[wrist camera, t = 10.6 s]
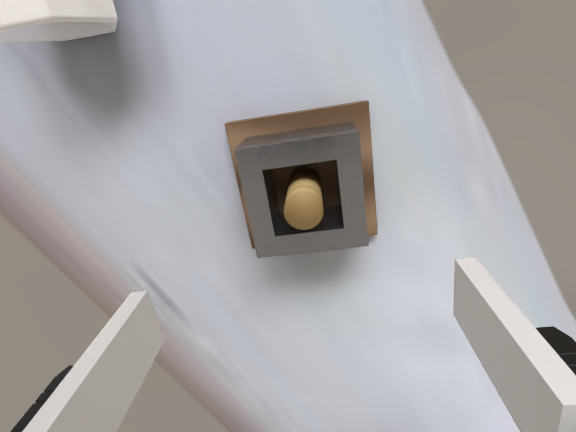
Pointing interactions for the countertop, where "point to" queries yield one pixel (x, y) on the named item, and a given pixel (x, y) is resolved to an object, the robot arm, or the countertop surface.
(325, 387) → the countertop surface
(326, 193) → the keeper
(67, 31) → the jar
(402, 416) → the countertop surface
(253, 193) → the grey hollow block
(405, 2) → the countertop surface
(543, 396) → the robot arm
